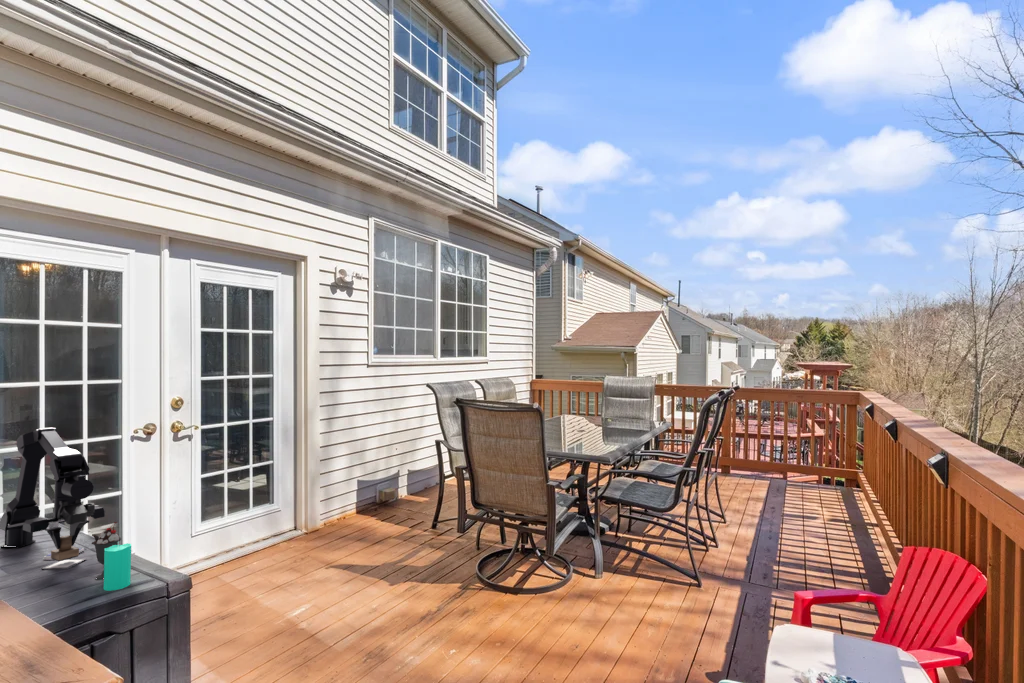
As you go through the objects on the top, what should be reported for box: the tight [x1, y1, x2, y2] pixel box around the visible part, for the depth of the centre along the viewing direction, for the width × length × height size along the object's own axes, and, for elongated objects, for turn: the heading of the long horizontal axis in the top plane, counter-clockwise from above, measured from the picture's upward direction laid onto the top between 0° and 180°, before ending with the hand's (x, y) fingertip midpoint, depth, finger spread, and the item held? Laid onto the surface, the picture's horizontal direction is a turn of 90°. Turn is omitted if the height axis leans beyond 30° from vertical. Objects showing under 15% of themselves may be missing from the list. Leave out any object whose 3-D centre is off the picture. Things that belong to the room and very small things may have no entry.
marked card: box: [40, 558, 87, 570], centre depth 161 cm, size 8×8×1 cm
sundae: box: [91, 521, 122, 579], centre depth 152 cm, size 7×7×15 cm
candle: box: [103, 541, 132, 592], centre depth 145 cm, size 6×6×12 cm
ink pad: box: [43, 547, 85, 561], centre depth 169 cm, size 7×7×1 cm
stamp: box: [50, 534, 80, 562], centre depth 161 cm, size 5×5×6 cm
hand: (65, 547), depth 161 cm, fingers closed on stamp, 3 cm apart
